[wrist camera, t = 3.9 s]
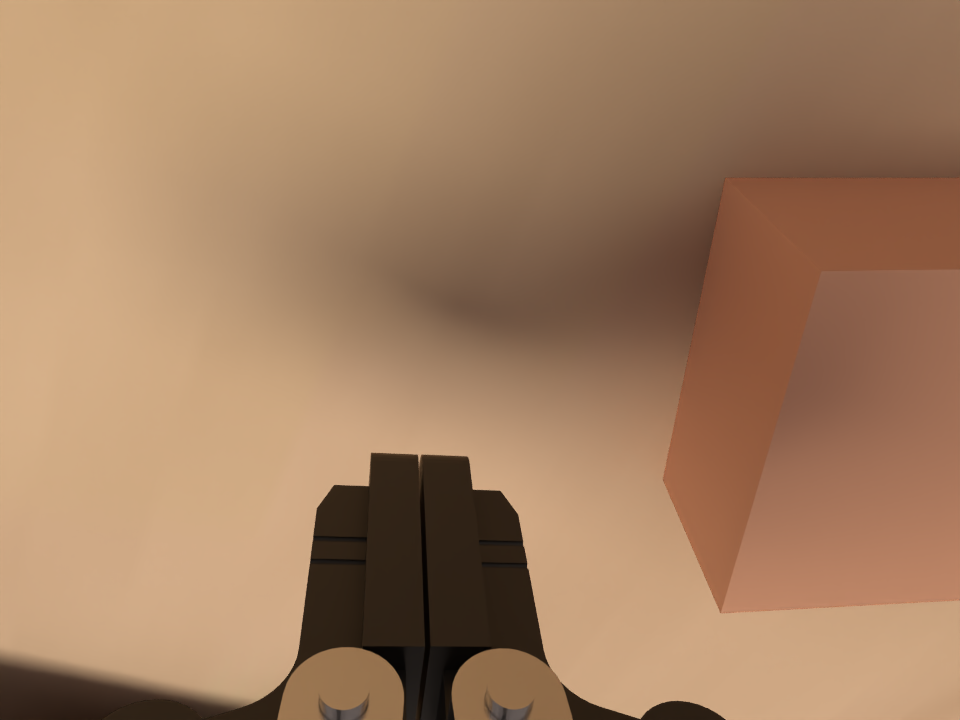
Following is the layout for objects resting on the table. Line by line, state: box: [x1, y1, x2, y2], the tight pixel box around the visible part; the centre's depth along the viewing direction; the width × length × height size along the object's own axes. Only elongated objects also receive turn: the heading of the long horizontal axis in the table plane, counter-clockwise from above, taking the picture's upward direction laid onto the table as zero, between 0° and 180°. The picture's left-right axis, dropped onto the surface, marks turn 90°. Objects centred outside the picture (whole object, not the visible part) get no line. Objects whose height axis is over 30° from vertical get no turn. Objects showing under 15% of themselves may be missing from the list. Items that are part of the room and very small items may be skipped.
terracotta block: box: [663, 178, 960, 613], centre depth 17 cm, size 8×8×4 cm
